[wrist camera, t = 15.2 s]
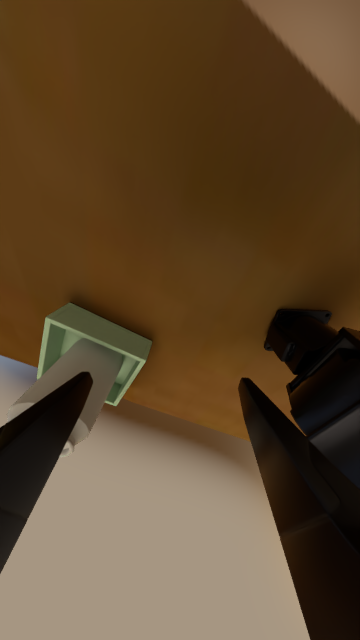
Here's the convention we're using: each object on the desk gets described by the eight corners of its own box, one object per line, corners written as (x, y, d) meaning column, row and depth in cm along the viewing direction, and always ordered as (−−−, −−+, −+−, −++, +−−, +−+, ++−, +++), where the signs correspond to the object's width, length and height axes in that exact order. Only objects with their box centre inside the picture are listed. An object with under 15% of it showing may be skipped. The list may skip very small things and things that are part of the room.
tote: (152, 341, 23) (146, 360, 20) (124, 385, 28) (116, 406, 25) (69, 302, 20) (45, 316, 17) (56, 358, 26) (36, 378, 22)
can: (124, 373, 26) (82, 467, 16) (79, 364, 25) (5, 456, 15) (126, 339, 22) (73, 433, 12) (73, 328, 22) (-30, 417, 11)
